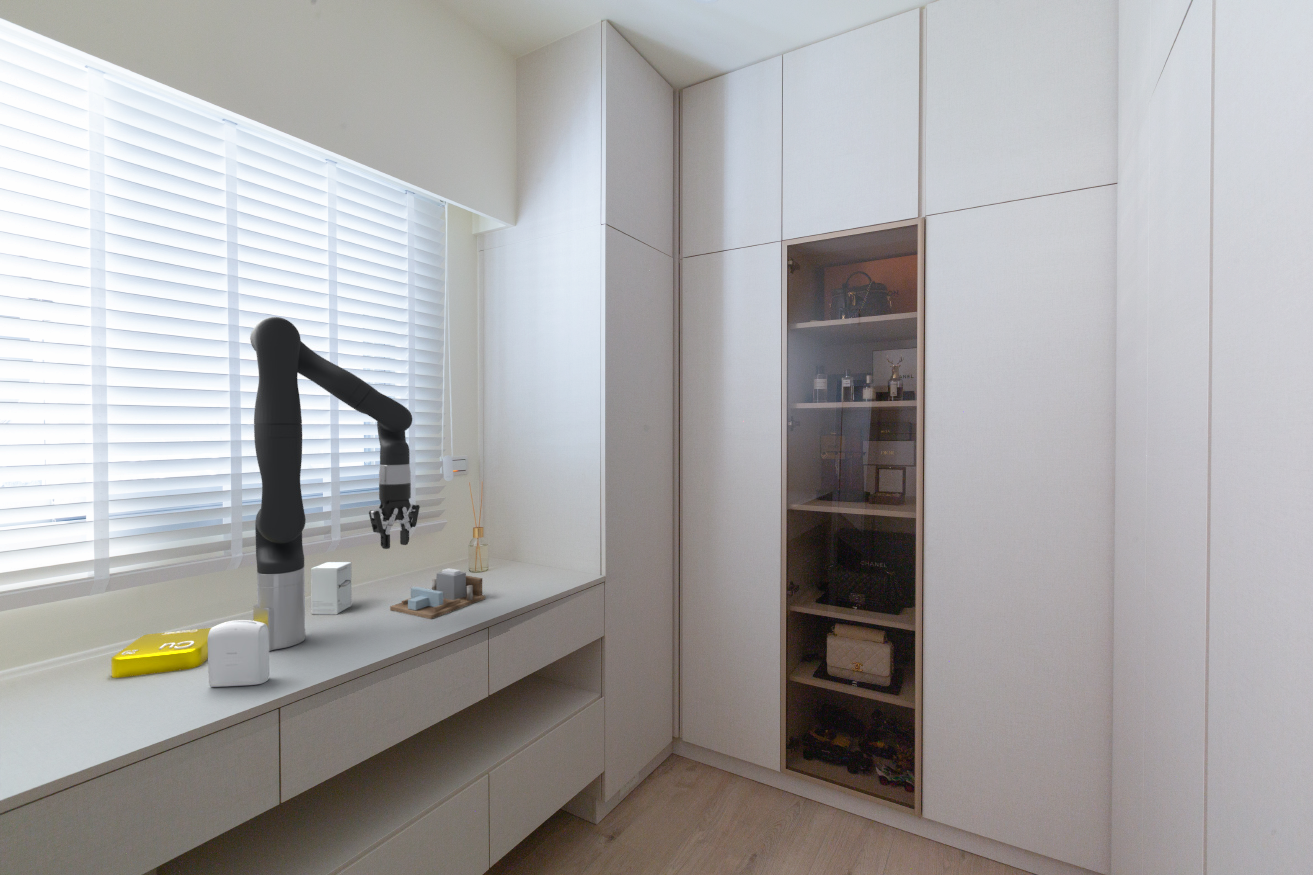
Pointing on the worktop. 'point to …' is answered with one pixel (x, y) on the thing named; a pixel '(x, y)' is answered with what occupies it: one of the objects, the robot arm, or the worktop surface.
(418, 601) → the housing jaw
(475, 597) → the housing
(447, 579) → the block
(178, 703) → the worktop surface
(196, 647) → the element tile
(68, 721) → the worktop surface
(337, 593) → the supplement box
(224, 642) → the photo printer
